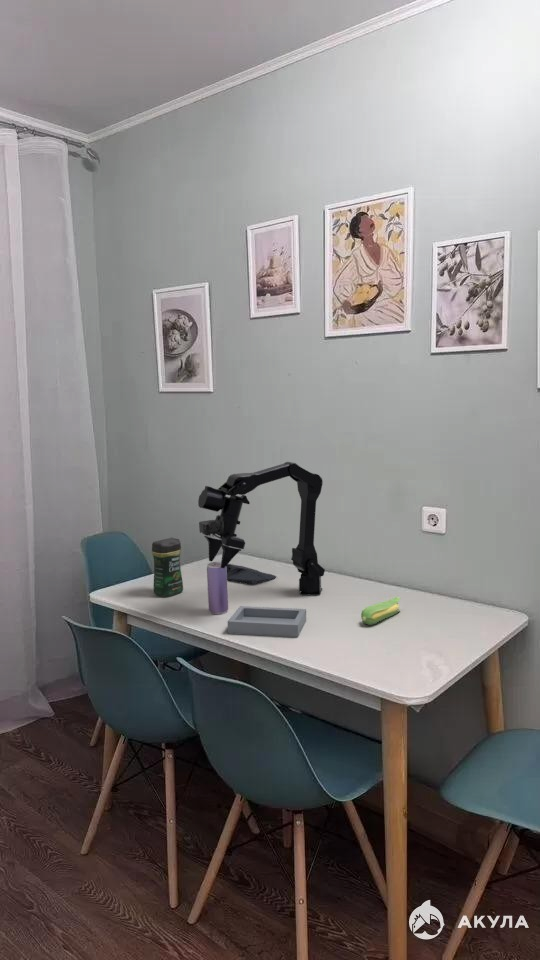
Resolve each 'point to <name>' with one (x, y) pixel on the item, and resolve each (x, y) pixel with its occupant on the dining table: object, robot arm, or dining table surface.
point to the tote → (267, 621)
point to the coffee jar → (167, 567)
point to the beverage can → (217, 588)
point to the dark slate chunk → (246, 575)
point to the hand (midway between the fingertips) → (216, 564)
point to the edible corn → (380, 611)
